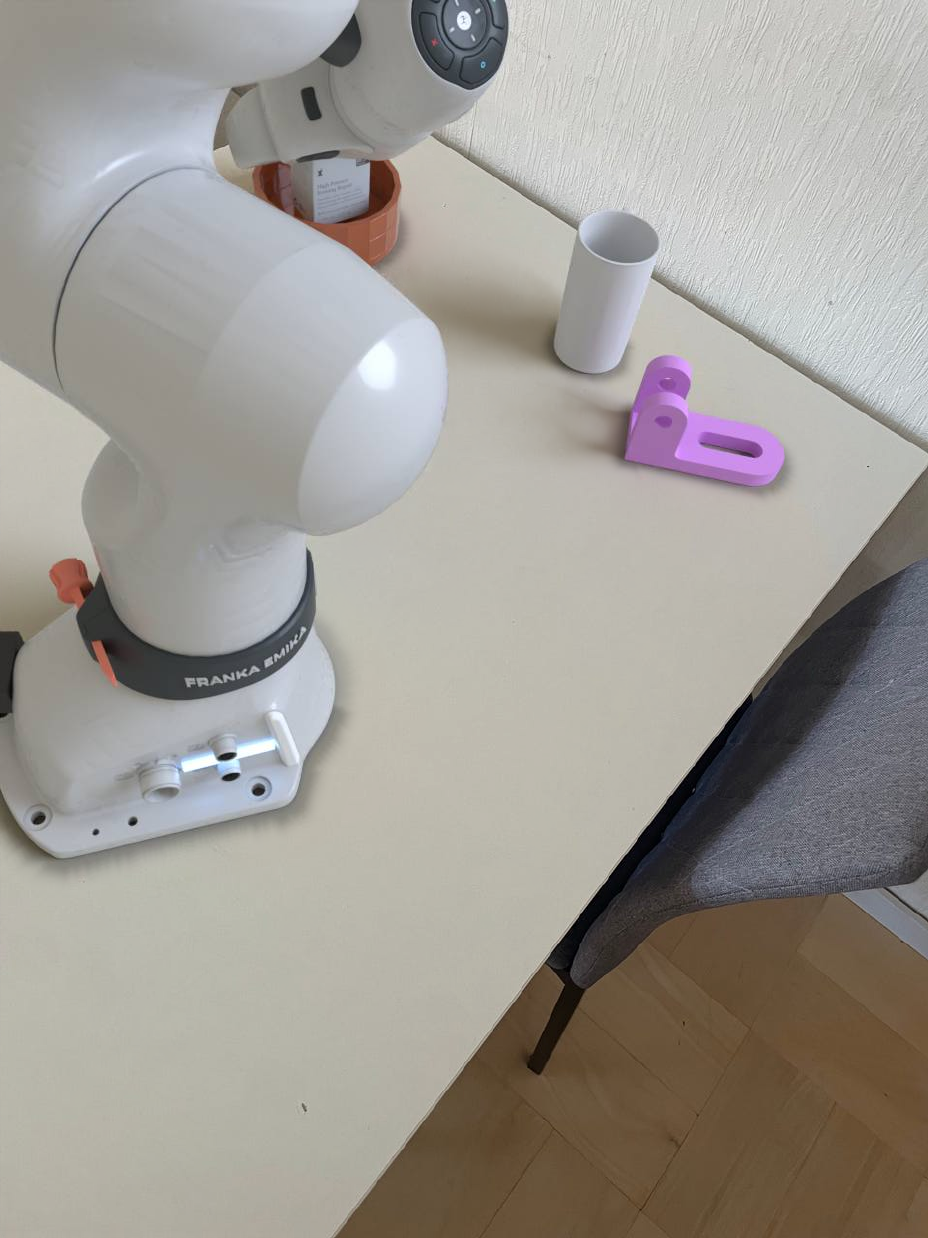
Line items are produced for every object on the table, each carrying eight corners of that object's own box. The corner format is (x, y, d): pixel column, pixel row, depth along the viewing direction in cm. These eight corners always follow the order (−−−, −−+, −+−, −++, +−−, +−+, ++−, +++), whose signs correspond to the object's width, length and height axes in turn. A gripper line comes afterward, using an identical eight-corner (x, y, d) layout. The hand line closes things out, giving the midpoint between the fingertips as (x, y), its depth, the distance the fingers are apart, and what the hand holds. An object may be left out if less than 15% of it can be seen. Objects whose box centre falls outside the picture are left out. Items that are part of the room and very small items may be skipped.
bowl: (289, 288, 91) (287, 241, 87) (234, 199, 97) (230, 151, 92) (421, 254, 95) (425, 208, 91) (361, 170, 101) (363, 123, 97)
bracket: (624, 459, 85) (646, 400, 79) (630, 411, 88) (652, 350, 82) (777, 492, 85) (811, 435, 79) (778, 442, 88) (810, 384, 82)
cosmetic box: (313, 231, 92) (309, 103, 82) (289, 202, 94) (283, 74, 84) (372, 212, 94) (375, 85, 84) (347, 184, 96) (348, 57, 86)
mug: (616, 385, 89) (652, 274, 79) (542, 364, 89) (569, 250, 79) (637, 312, 94) (674, 198, 84) (568, 292, 95) (596, 177, 85)
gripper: (488, 24, 79) (423, 77, 91) (238, 71, 72) (203, 121, 85) (508, 111, 81) (441, 151, 93) (266, 165, 74) (228, 200, 87)
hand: (326, 137), depth 89 cm, fingers closed on cosmetic box, 6 cm apart
